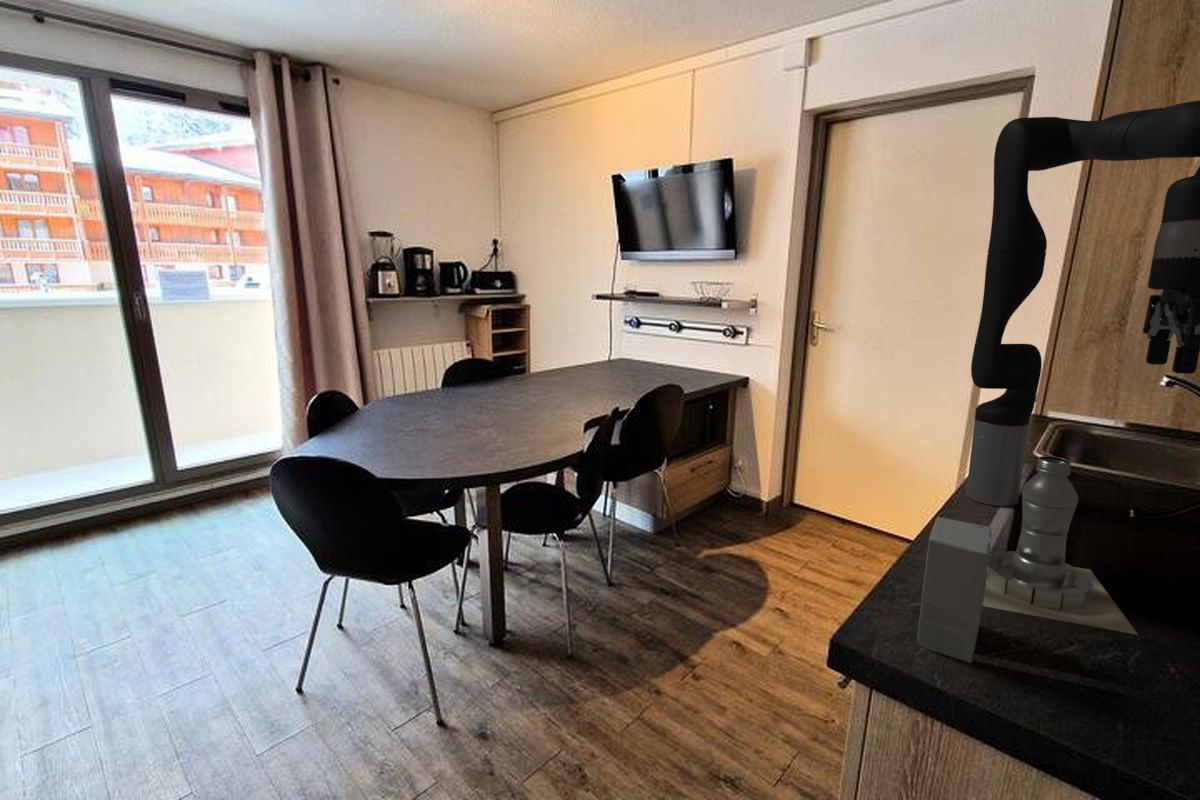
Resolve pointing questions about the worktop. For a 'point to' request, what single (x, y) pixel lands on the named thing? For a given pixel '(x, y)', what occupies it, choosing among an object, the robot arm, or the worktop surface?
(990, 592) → the birch board
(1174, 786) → the worktop surface
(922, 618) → the skincare box
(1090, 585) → the steel collar
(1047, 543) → the plastic bottle
